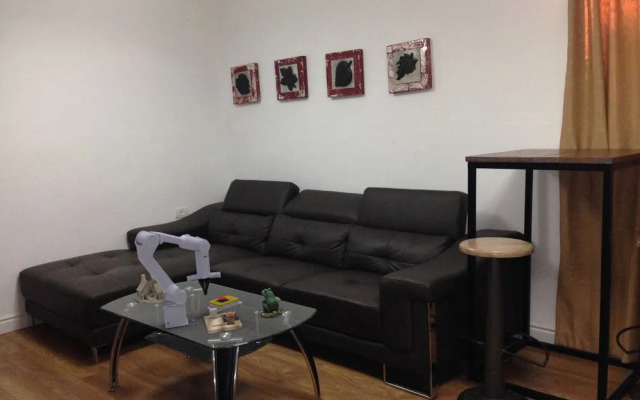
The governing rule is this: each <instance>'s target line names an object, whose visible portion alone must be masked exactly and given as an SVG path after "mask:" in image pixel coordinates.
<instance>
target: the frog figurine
mask: <svg viewBox="0 0 640 400" xmlns="http://www.w3.org/2000/svg"><path fill="white" fill-rule="evenodd" d="M261 295H262V296H263V297H264V299H263V300H262V302H261V304H262V310H260V311H261V312H260V316H261V317H262V318H263V319H262V318H256V320H258V321H264V322H265V321H268V319H275V318H277V317H279V316H282V315H283V312H282V308H279V307H280V303H279V302H280V301H281V298H280V297H278V296H275V294H274V292H273V290H272V289H271V288H270V287H269V288H265V289H263V290H262V291H261ZM281 314H282V315H281ZM278 315H279V316H278Z"/></svg>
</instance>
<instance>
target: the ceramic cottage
mask: <svg viewBox="0 0 640 400" xmlns="http://www.w3.org/2000/svg"><path fill="white" fill-rule="evenodd" d="M140 276H141V277H140V283H139V285H138V287H137V288H135V290H136V297H135V301H136V300H137V301H138V302H137V303H139V302H146V303H145V304H160V303H164V302H168V301H167V300H166V299H165V296H164V293H163V291H162V288H161V287H160V285H159V284H158V283H157V282H156V280H155V279H154V278H153V277H152V275H151V274H150V273H149V280H148V279H147V278H146V274H145V273H144V274H141V275H140Z"/></svg>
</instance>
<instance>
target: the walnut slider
mask: <svg viewBox="0 0 640 400" xmlns="http://www.w3.org/2000/svg"><path fill="white" fill-rule="evenodd" d="M226 320H227V324H234V323H235V319H234V314H233V313H230V314H226Z"/></svg>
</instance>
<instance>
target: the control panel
mask: <svg viewBox="0 0 640 400" xmlns="http://www.w3.org/2000/svg"><path fill="white" fill-rule="evenodd" d="M234 312H235V317H234V319H235V323H234V324H227V320H226V317H225V313H226V312H222V313H217V315H218V317H217V318H210V314H209V315H204V316H203V320H204V324H205V327H206V330H207V334H208V335H209V334H218V333H223V332H229V331H234V330H235V331H236V330H242V329H243V324H242V322H241V320H240V317H239V314H238V312H237V311H234Z"/></svg>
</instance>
